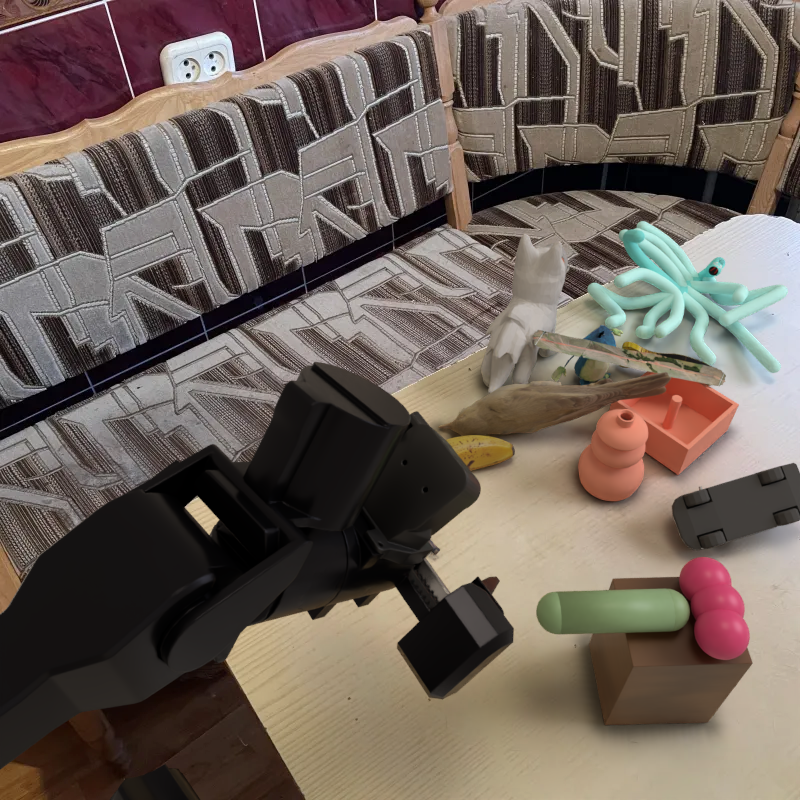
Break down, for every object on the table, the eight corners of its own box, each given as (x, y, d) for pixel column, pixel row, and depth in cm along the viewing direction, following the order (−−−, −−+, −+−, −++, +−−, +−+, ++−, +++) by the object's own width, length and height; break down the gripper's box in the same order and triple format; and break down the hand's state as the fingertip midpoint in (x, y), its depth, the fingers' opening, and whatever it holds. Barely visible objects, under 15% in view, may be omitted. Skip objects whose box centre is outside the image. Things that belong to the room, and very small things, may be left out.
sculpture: (665, 380, 81) (677, 410, 77) (446, 434, 87) (447, 465, 83) (657, 334, 78) (669, 364, 74) (429, 395, 84) (429, 425, 80)
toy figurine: (570, 414, 85) (581, 366, 79) (542, 394, 87) (550, 346, 81) (636, 363, 90) (650, 315, 84) (608, 345, 92) (620, 297, 87)
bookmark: (533, 330, 82) (535, 327, 82) (722, 370, 83) (724, 367, 82) (532, 348, 81) (534, 345, 80) (725, 389, 81) (727, 386, 81)
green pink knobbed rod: (541, 673, 53) (547, 651, 51) (527, 577, 58) (532, 552, 56) (751, 667, 53) (769, 645, 51) (719, 571, 58) (733, 546, 56)
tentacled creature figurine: (629, 201, 84) (692, 174, 96) (554, 279, 94) (620, 246, 106) (786, 373, 80) (831, 322, 92) (690, 436, 90) (742, 383, 102)
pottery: (655, 384, 88) (675, 320, 80) (727, 430, 83) (756, 366, 75) (551, 467, 80) (564, 404, 72) (624, 523, 75) (646, 462, 68)
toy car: (695, 556, 69) (675, 556, 74) (825, 516, 70) (798, 519, 75) (672, 495, 70) (655, 499, 75) (801, 456, 71) (775, 463, 76)
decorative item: (614, 365, 90) (623, 344, 85) (616, 359, 90) (625, 338, 85) (709, 393, 87) (724, 373, 83) (711, 387, 88) (725, 366, 83)
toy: (578, 321, 95) (588, 217, 84) (516, 423, 84) (518, 319, 73) (530, 308, 97) (534, 206, 87) (464, 405, 87) (459, 303, 76)
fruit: (433, 562, 72) (433, 545, 70) (368, 507, 77) (367, 489, 75) (533, 470, 80) (536, 452, 77) (469, 425, 84) (470, 406, 82)
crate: (604, 725, 62) (632, 666, 53) (588, 643, 67) (612, 578, 58) (708, 722, 62) (753, 663, 53) (685, 641, 67) (722, 575, 58)
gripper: (512, 608, 34) (625, 565, 47) (303, 330, 42) (448, 358, 55) (366, 741, 38) (507, 668, 51) (202, 465, 46) (359, 462, 59)
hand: (454, 530), depth 54 cm, fingers open, 9 cm apart
